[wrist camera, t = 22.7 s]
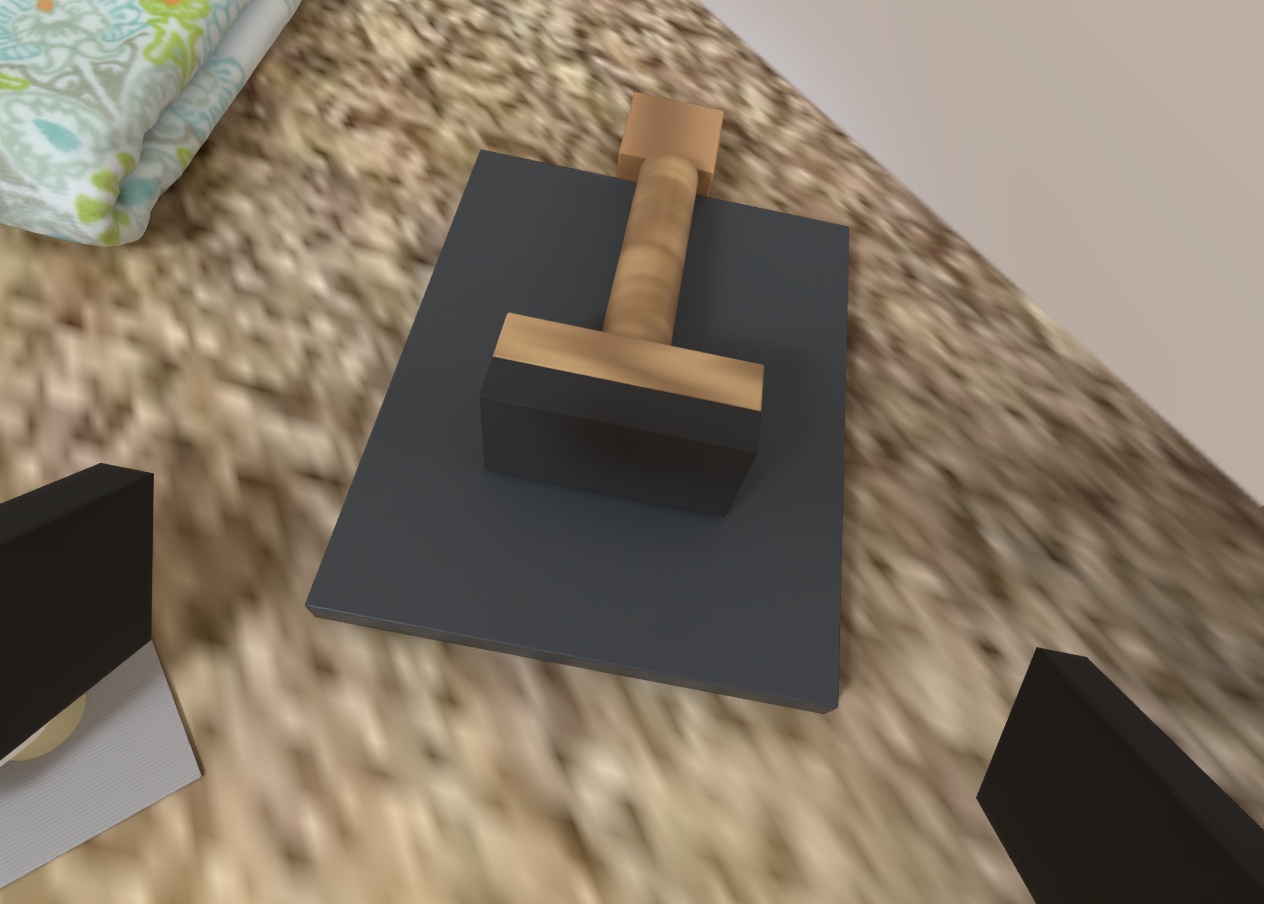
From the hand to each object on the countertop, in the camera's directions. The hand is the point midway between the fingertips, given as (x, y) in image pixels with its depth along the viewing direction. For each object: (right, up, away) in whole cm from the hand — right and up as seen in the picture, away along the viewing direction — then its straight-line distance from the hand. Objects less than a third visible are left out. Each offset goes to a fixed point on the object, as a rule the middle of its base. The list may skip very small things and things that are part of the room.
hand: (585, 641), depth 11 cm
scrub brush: (0, +2, +11) cm, 12 cm away
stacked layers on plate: (-18, -4, +10) cm, 20 cm away
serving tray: (0, +5, +17) cm, 17 cm away
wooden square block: (+2, +15, +22) cm, 27 cm away
